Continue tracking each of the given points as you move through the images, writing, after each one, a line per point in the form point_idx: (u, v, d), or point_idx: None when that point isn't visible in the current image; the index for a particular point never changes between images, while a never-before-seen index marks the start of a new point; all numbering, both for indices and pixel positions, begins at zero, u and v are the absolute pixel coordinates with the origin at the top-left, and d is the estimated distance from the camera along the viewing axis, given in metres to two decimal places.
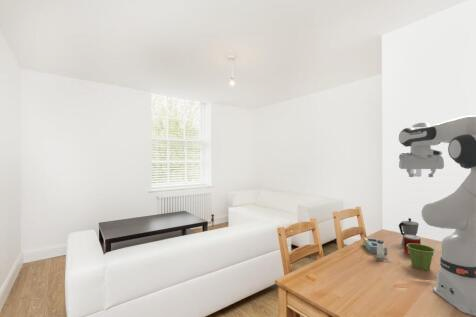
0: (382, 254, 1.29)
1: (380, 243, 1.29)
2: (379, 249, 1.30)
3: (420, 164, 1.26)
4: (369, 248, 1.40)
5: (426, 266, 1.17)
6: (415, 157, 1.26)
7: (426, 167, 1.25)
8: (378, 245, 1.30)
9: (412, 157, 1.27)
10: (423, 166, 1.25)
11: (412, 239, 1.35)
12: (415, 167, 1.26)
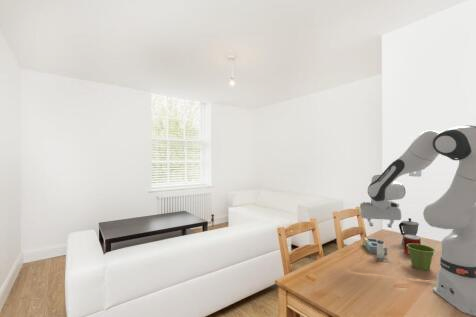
0: (382, 254, 1.29)
1: (380, 243, 1.29)
2: (379, 249, 1.30)
3: (379, 215, 1.29)
4: (369, 248, 1.40)
5: (426, 266, 1.17)
6: (374, 207, 1.30)
7: (385, 218, 1.29)
8: (378, 245, 1.30)
9: (372, 207, 1.30)
10: (382, 216, 1.29)
11: (412, 239, 1.35)
12: (374, 217, 1.30)
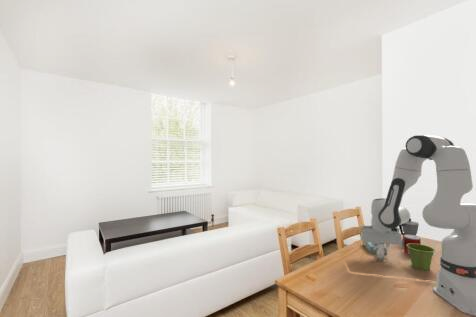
0: (382, 254, 1.29)
1: (380, 243, 1.29)
2: (379, 249, 1.30)
3: (380, 238, 1.29)
4: (369, 248, 1.40)
5: (426, 266, 1.17)
6: (375, 231, 1.30)
7: (385, 242, 1.29)
8: (378, 245, 1.30)
9: (372, 231, 1.30)
10: (382, 240, 1.29)
11: (412, 239, 1.35)
12: (375, 241, 1.30)
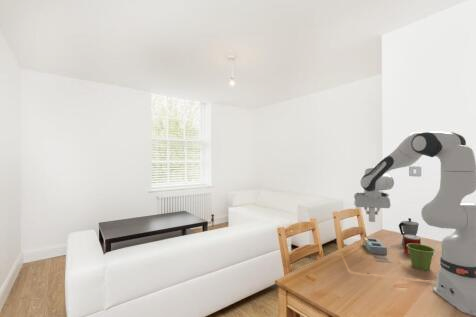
0: (373, 217, 1.46)
1: None
2: (370, 213, 1.46)
3: (371, 203, 1.46)
4: (369, 248, 1.40)
5: (426, 266, 1.17)
6: (367, 197, 1.46)
7: (376, 206, 1.45)
8: (370, 209, 1.47)
9: (364, 197, 1.47)
10: (374, 205, 1.45)
11: (412, 239, 1.35)
12: (367, 206, 1.47)
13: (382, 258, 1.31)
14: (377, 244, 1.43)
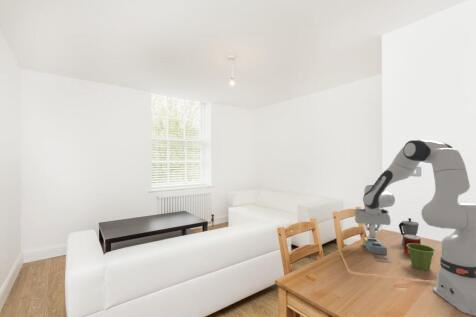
0: (373, 233, 1.47)
1: (372, 224, 1.48)
2: (371, 229, 1.48)
3: (371, 220, 1.47)
4: (369, 248, 1.40)
5: (426, 266, 1.17)
6: (367, 214, 1.48)
7: (376, 223, 1.47)
8: (370, 226, 1.48)
9: (365, 213, 1.48)
10: (374, 221, 1.47)
11: (412, 239, 1.35)
12: (367, 222, 1.48)
13: (382, 258, 1.31)
14: (377, 244, 1.43)
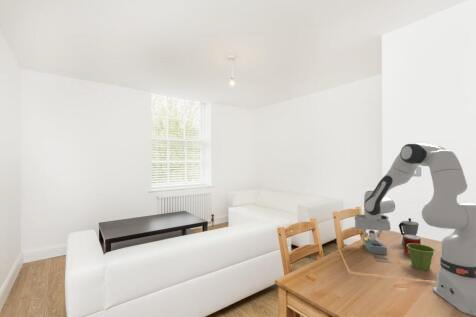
0: None
1: (371, 233, 1.48)
2: (371, 238, 1.48)
3: (371, 226, 1.47)
4: (369, 248, 1.40)
5: (426, 266, 1.17)
6: (367, 219, 1.48)
7: (376, 228, 1.47)
8: (370, 234, 1.48)
9: (364, 219, 1.48)
10: (374, 227, 1.47)
11: (412, 239, 1.35)
12: (367, 228, 1.48)
13: (382, 258, 1.31)
14: (377, 244, 1.43)
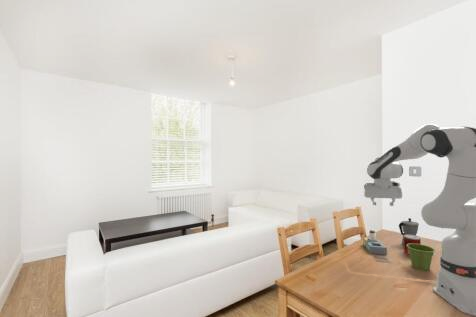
0: None
1: (372, 233, 1.48)
2: (371, 238, 1.48)
3: (382, 194, 1.41)
4: (369, 248, 1.40)
5: (426, 266, 1.17)
6: (377, 187, 1.41)
7: (387, 196, 1.40)
8: (370, 234, 1.48)
9: (375, 187, 1.42)
10: (385, 195, 1.40)
11: (412, 239, 1.35)
12: (377, 196, 1.41)
13: (382, 258, 1.31)
14: (377, 244, 1.43)
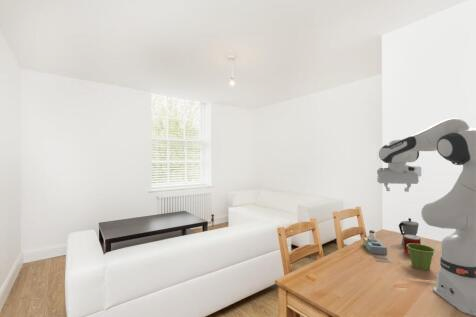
0: None
1: (372, 233, 1.48)
2: (371, 238, 1.48)
3: (396, 179, 1.32)
4: (369, 248, 1.40)
5: (426, 266, 1.17)
6: (392, 172, 1.33)
7: (402, 182, 1.32)
8: (370, 234, 1.48)
9: (389, 172, 1.33)
10: (399, 181, 1.32)
11: (412, 239, 1.35)
12: (392, 182, 1.33)
13: (382, 258, 1.31)
14: (377, 244, 1.43)
